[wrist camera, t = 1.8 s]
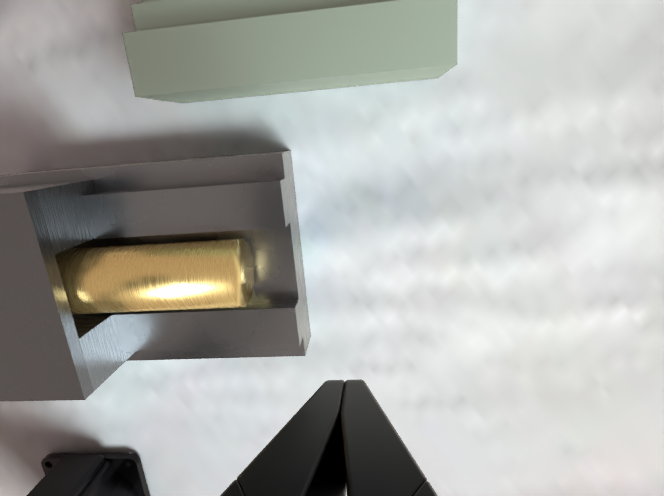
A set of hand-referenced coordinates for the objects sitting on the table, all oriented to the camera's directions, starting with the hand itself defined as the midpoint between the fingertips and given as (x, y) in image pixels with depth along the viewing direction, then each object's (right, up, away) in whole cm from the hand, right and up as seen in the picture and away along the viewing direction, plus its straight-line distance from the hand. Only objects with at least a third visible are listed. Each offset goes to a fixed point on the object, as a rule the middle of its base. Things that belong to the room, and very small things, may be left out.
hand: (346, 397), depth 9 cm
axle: (-11, +2, +9) cm, 15 cm away
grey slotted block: (-9, +3, +12) cm, 16 cm away
